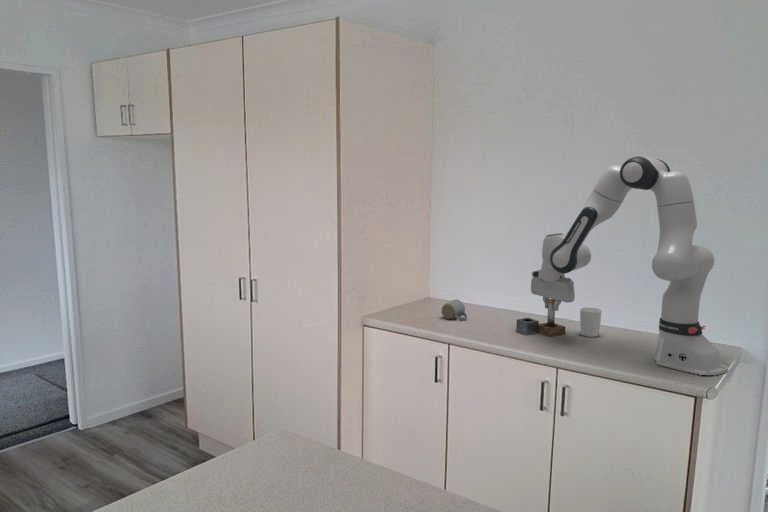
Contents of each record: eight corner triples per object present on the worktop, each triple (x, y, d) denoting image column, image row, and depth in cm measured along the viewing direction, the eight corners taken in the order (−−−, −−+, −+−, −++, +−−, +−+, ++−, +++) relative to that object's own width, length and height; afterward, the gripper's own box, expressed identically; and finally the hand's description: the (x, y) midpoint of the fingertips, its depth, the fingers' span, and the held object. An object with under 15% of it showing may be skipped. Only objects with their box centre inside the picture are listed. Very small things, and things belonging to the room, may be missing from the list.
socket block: (538, 333, 232) (538, 320, 231) (526, 335, 229) (527, 322, 228) (527, 329, 237) (528, 317, 236) (516, 331, 234) (516, 319, 234)
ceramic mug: (440, 318, 255) (440, 301, 254) (450, 314, 261) (450, 298, 260) (461, 322, 248) (461, 305, 247) (470, 319, 255) (471, 301, 254)
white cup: (577, 335, 229) (578, 310, 227) (580, 330, 236) (582, 306, 234) (598, 338, 225) (600, 312, 224) (601, 333, 232) (603, 308, 231)
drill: (556, 329, 232) (557, 300, 230) (550, 330, 230) (551, 300, 228) (550, 328, 234) (551, 298, 232) (545, 329, 233) (546, 299, 231)
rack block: (565, 334, 231) (565, 326, 230) (550, 336, 227) (550, 329, 227) (550, 329, 238) (550, 322, 237) (535, 331, 234) (535, 324, 233)
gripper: (579, 278, 222) (577, 313, 223) (540, 270, 239) (539, 303, 241) (567, 279, 218) (565, 315, 220) (528, 271, 236) (527, 305, 238)
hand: (551, 309), depth 231 cm, fingers closed on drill, 3 cm apart
